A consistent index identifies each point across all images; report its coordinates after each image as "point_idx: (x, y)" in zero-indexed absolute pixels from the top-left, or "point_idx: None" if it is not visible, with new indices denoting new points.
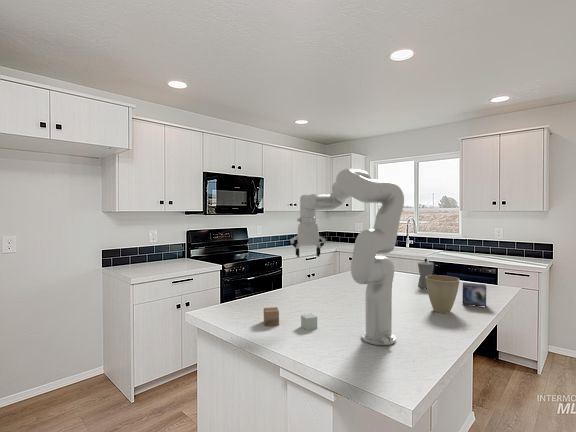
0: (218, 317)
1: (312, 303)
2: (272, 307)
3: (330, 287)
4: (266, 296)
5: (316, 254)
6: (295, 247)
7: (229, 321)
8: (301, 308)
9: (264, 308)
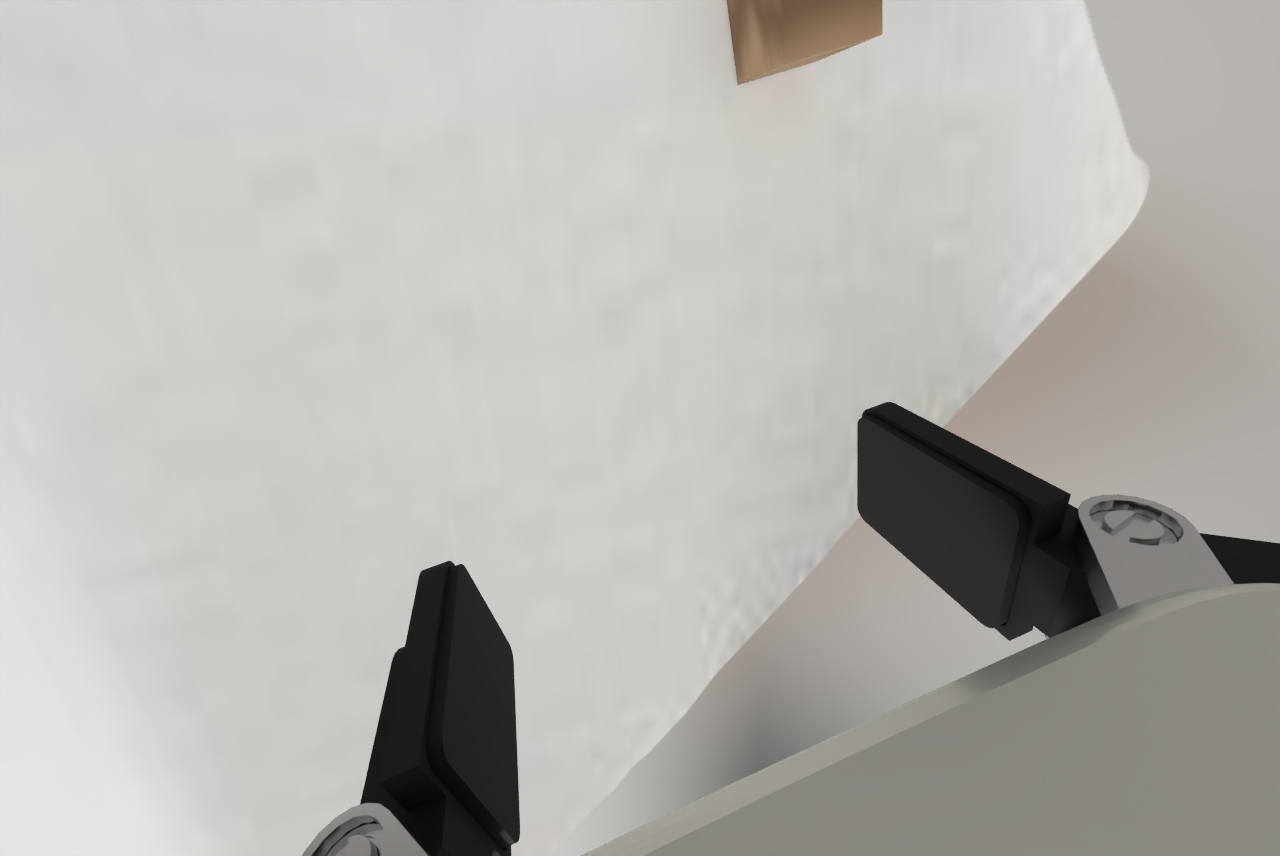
0: (1040, 135)
1: (549, 479)
2: (820, 45)
3: None
4: (801, 535)
5: (512, 671)
6: (1155, 534)
7: (998, 55)
8: (604, 371)
9: (877, 11)
